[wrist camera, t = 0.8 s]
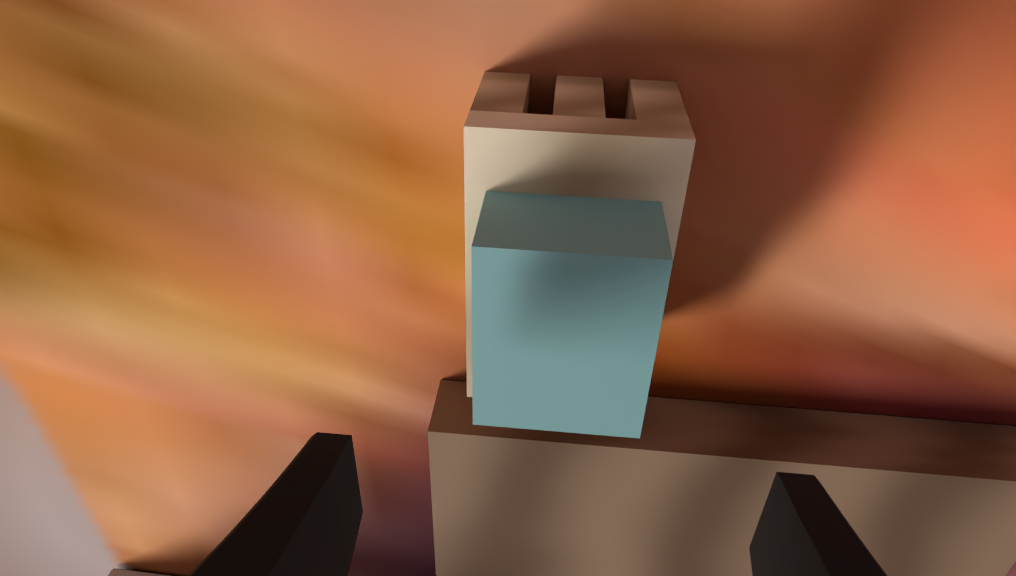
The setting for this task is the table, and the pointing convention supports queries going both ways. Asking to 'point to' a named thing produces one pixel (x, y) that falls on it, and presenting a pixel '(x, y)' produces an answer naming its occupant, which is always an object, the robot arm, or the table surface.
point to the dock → (713, 490)
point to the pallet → (574, 150)
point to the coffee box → (131, 573)
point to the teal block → (566, 311)
